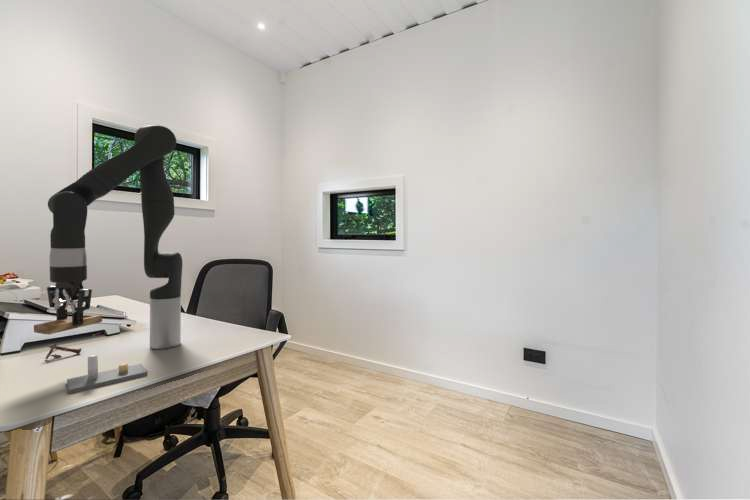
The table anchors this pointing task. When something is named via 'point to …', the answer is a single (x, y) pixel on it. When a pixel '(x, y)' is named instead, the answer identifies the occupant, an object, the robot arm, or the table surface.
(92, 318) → the holed bar
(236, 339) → the table surface
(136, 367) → the base
